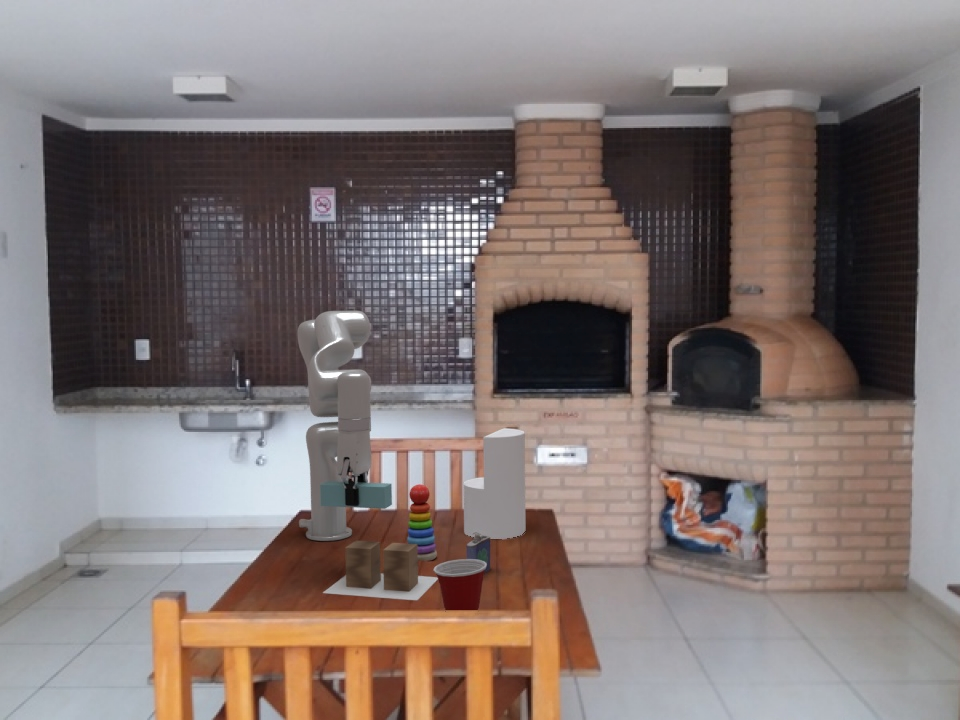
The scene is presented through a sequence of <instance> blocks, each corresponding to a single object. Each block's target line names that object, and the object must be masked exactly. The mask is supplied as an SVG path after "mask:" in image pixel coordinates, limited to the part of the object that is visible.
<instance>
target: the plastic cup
mask: <svg viewBox="0 0 960 720" xmlns="http://www.w3.org/2000/svg"><path fill="white" fill-rule="evenodd" d="M486 566H487V563H486V562H484V561H481V560H476V559H467V558H465V559H461V558H460V559H453V560H448V561H445V562H441V563H439V564H437V565H436V566H434V568H433V572H434V573H435V575H436V577H437V578H438V580H437V581H438V583H439V587H440V592H441V597H442V601H443V608H444V610H478V611H479V608H480V602H481V595H482V587H483V581H484V577H485V576H484V575H485V573H484V571H485V569H486Z"/></svg>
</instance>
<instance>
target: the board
mask: <svg viewBox="0 0 960 720" xmlns="http://www.w3.org/2000/svg"><path fill="white" fill-rule="evenodd" d="M436 581H439V580H438V578H437V576H436V577H435V576H423V575H418V584H417V585H416V586H415V587H414V588H413V589H412V590H411V591H410V592H407V591H394V590H384V573H383V572H382V573H381V581H380V582H378V583H377V584H376V585H375V586H374V587H373V588H371V589H368V588H355V587H346V574H345V575H343V576H342V577H341V578H340V579H339V580H338V581H336V582H335V583H334V584H332V585H331V586H330V587H329V588H327V589H326V590H324V591H323V592H322V594H328V595H330V594H331V595H339V596H340V595H343V596H356V597H365V598H366V597H369V598H380V599H381V598H382V599H394V600H404V601H405V600H406V601H407V600H408V601H419V600H420V598H421V597H422V596H423V595H424V594H425V593H426V592H427V591H428V590H429V589H430V588H431V587H432V586H433V585H434V584H435V583H436Z"/></svg>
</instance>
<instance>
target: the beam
mask: <svg viewBox="0 0 960 720" xmlns="http://www.w3.org/2000/svg"><path fill="white" fill-rule="evenodd" d="M357 488H359V505H358V506H347V505H345V488H344V482H337V481H328V482H325V483H323V484H321V485H320V489H321V506H334V507H346V508H358V509H359V508H360V509H382V510H385V509H387V508H389V507H391V506H392V505H393V495H392V489H393V487H392V483H385V482H368V483H364V482H357Z"/></svg>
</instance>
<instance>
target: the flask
mask: <svg viewBox="0 0 960 720" xmlns="http://www.w3.org/2000/svg"><path fill="white" fill-rule="evenodd" d="M475 533H476V534H475ZM475 533H473V534H475V537H474V538H473V539H472V540H471V541H469V542H468V543H467V544H466V559H476V560H481V561H484V562H486V563H487V566H486V569H485V571H484V574H485V573H487V572H490V571H491V540H490V537H489V536H483V535H482V536H480V535H481V534H479V533H477V532H475Z"/></svg>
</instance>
